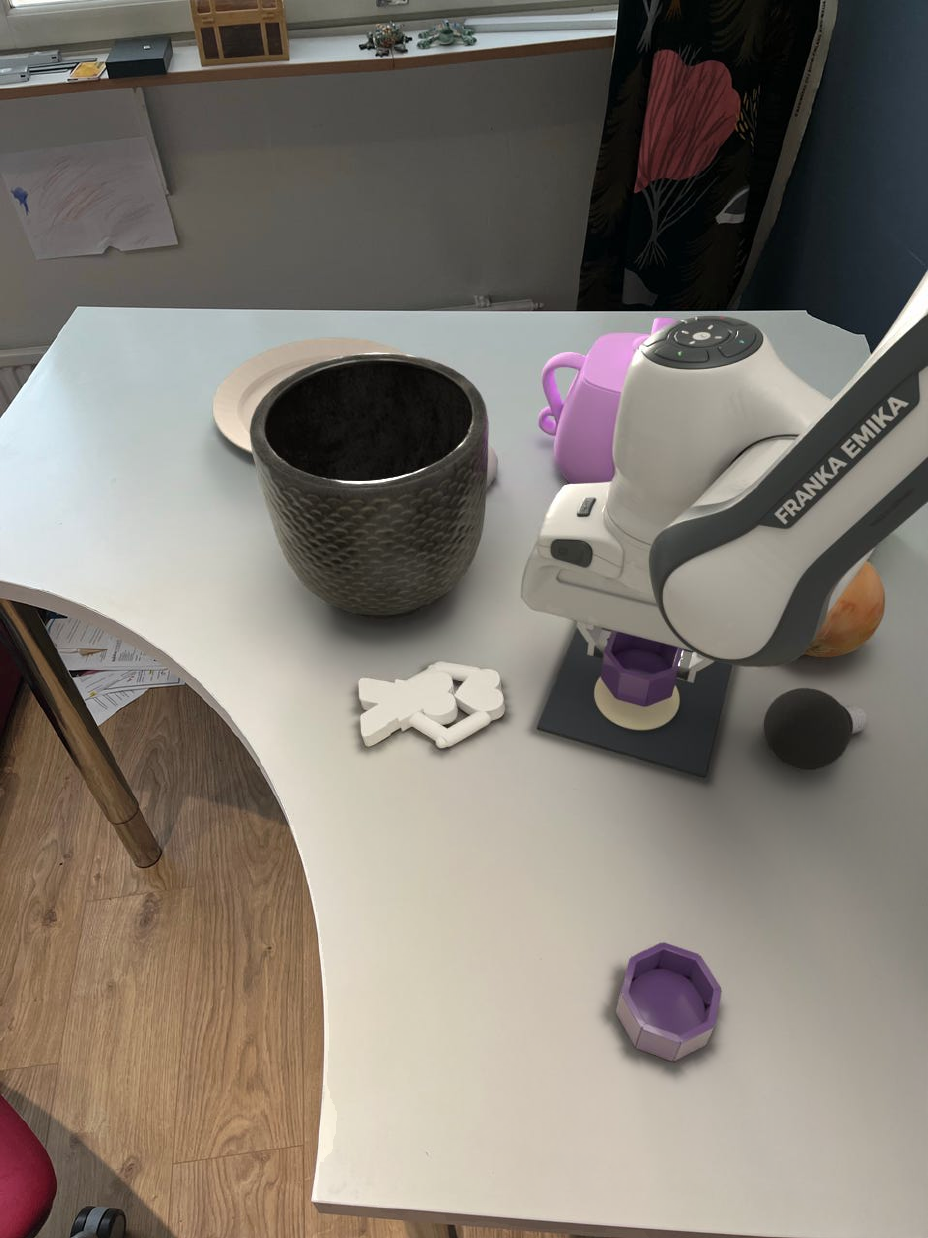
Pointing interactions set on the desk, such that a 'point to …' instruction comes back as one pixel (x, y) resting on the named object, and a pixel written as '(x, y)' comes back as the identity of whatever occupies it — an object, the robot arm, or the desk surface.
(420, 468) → the planter
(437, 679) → the white abstract figurine
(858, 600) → the onion
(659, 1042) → the dish
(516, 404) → the desk surface
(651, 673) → the dish
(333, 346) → the plate
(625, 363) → the teapot
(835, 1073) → the desk surface
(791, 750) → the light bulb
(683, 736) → the mat
